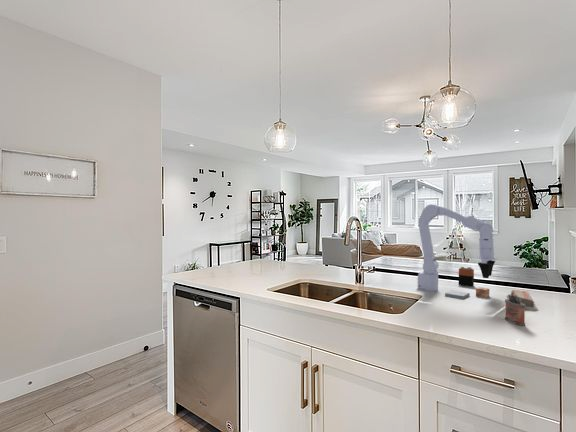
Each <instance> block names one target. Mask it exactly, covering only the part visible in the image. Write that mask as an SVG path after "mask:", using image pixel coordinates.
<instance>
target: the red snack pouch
mask: <svg viewBox="0 0 576 432" xmlns="http://www.w3.org/2000/svg"><path fill="white" fill-rule="evenodd" d="M507 296H508V297H509V299H507V298H506V299H505V300H504V303H505V317H504V320H505V321H506V322H509V323H511V324H513V325H515V326H519V327H525V326H526V322H525V318H526V317H525V316H526V315H525V314H526V313H525V311H526V309H525V304H523V303H520V301H523V298H522V297H518V296H517V295H511V293H510V294H509V293H508V295H507Z"/></svg>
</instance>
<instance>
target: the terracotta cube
mask: <svg viewBox="0 0 576 432" xmlns="http://www.w3.org/2000/svg"><path fill="white" fill-rule="evenodd" d="M475 297H478V298H479V297H481V298H489V297H490V288H489V287H481V286H478V287H476V288H475Z"/></svg>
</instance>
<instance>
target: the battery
mask: <svg viewBox="0 0 576 432" xmlns="http://www.w3.org/2000/svg"><path fill="white" fill-rule="evenodd" d="M474 280H475V269H474V268H472V267H470V266H468V267H465V266H461V267H459V268H458V286H464V287H469V288H470V287H473V286H475V285H474V284H475V283H474V282H475V281H474Z"/></svg>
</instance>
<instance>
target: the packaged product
mask: <svg viewBox="0 0 576 432" xmlns="http://www.w3.org/2000/svg"><path fill="white" fill-rule="evenodd" d="M510 294H511V295H517V296H518V297H522V298H523V301H520V303H523V304H525V310H528V311H529V310H532V311H538V309H539V307H538V306H537V305H536V303H535V302H534V299H533V298H532V296H531V295H530V293H529V292H527V291H525V290H516V289H513V290H511V293H510ZM506 299H509V297H508V295H506Z"/></svg>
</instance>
